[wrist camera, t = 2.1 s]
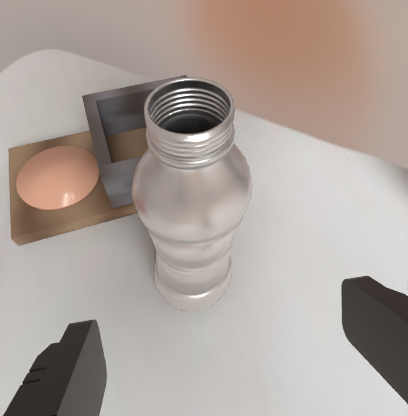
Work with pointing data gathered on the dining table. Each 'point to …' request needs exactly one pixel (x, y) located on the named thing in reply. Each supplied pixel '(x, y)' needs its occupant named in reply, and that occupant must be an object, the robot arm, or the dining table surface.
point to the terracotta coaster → (58, 178)
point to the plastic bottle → (191, 189)
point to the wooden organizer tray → (106, 160)
